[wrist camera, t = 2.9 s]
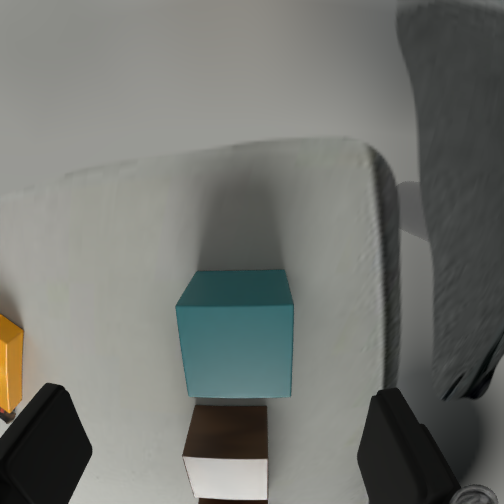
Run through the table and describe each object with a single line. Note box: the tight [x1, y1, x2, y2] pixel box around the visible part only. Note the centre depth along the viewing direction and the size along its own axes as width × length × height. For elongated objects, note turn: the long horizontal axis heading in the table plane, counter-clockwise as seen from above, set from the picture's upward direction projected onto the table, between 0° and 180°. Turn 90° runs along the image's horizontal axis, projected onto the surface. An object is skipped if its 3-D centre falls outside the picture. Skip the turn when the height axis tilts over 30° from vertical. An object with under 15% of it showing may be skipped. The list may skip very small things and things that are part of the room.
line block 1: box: [182, 405, 268, 500], centre depth 17 cm, size 5×5×5 cm
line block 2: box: [198, 498, 268, 504], centre depth 19 cm, size 5×5×5 cm
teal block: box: [175, 270, 294, 398], centre depth 15 cm, size 5×5×5 cm
